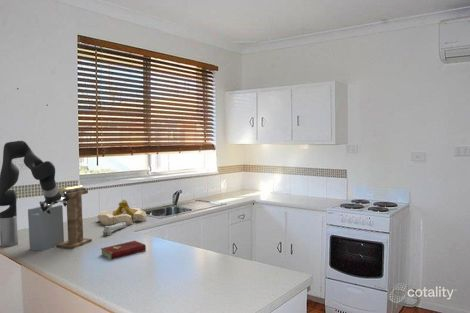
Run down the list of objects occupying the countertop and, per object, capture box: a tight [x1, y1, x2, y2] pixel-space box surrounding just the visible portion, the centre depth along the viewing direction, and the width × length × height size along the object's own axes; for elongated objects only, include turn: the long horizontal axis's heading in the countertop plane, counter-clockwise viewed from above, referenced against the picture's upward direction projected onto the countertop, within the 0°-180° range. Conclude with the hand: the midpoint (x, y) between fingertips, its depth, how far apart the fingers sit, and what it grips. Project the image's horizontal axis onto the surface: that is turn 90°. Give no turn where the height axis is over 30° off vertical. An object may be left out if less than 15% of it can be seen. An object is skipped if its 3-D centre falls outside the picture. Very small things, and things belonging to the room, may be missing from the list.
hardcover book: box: [100, 240, 147, 260], centre depth 214 cm, size 12×21×4 cm, turn 134°
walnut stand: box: [56, 187, 93, 250], centre depth 231 cm, size 16×12×33 cm
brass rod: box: [58, 184, 84, 194], centre depth 226 cm, size 24×3×3 cm, turn 161°
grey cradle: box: [27, 204, 65, 252], centre depth 228 cm, size 16×10×24 cm, turn 161°
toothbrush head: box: [102, 222, 127, 237], centre depth 261 cm, size 5×7×25 cm
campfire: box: [97, 199, 147, 226], centre depth 293 cm, size 35×34×17 cm
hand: (57, 209), depth 213 cm, fingers open, 8 cm apart
